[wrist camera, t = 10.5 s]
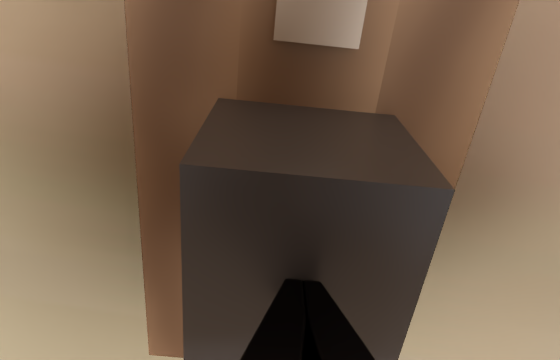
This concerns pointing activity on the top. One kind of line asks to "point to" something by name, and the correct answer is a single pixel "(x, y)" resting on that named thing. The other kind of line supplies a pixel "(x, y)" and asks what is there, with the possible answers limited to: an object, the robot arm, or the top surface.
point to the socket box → (294, 91)
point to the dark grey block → (304, 221)
